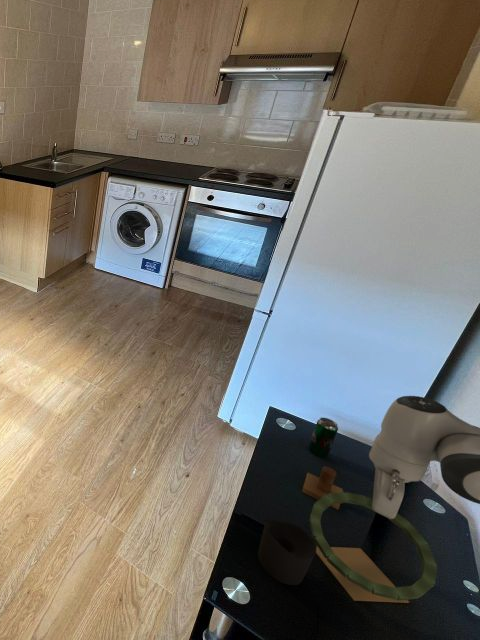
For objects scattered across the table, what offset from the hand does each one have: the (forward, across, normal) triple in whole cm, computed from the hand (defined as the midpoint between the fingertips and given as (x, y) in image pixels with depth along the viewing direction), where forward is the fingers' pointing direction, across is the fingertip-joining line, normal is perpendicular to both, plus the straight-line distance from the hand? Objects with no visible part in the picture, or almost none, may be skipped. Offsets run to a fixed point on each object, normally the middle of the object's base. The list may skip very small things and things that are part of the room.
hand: (377, 505), depth 97 cm
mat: (+13, -9, 0) cm, 16 cm away
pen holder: (+14, -21, +13) cm, 28 cm away
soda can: (+14, +33, +12) cm, 37 cm away
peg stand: (+13, +14, +9) cm, 21 cm away
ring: (+5, -8, 0) cm, 10 cm away
